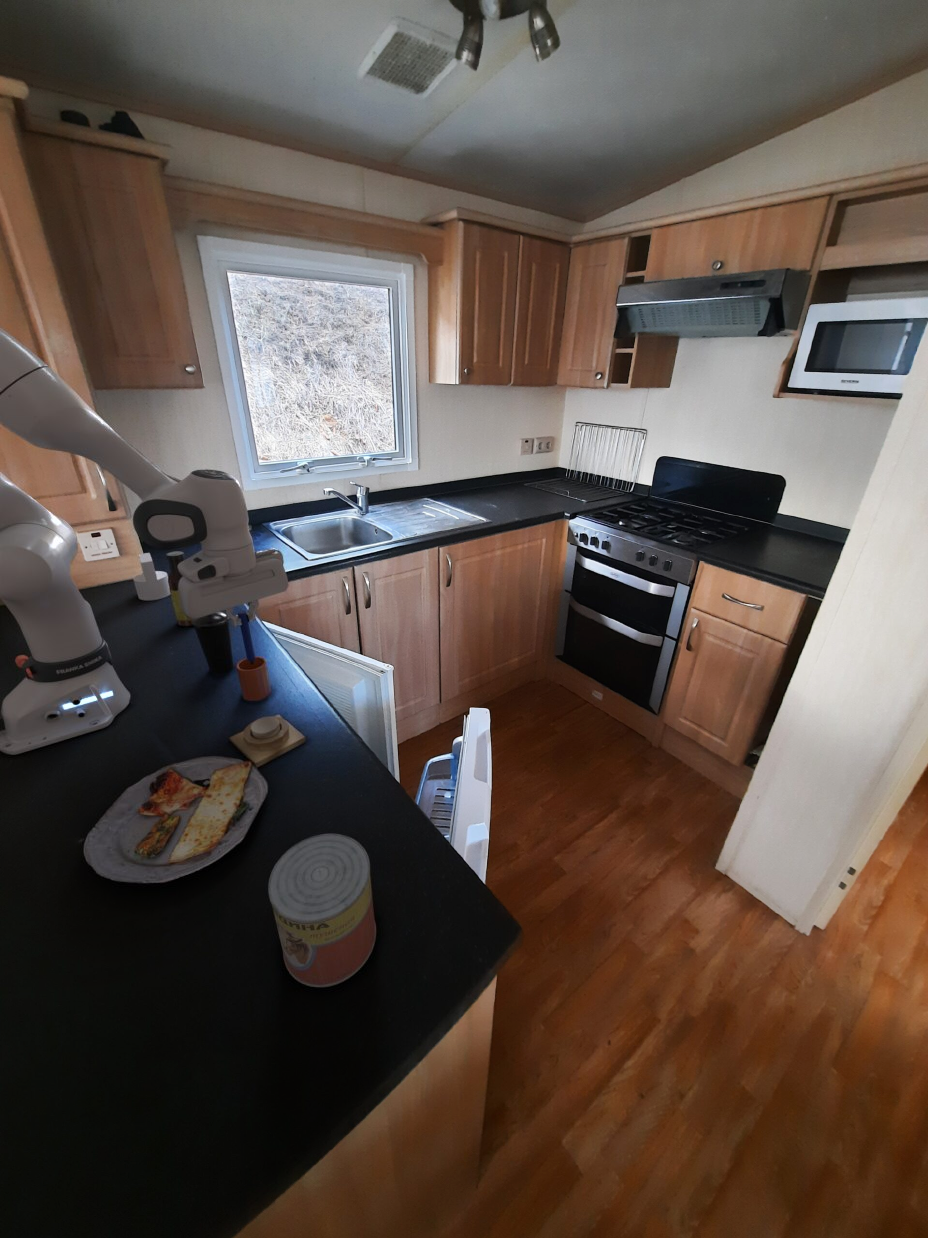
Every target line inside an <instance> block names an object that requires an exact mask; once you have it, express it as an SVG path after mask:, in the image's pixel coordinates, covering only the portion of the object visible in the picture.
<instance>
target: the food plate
mask: <svg viewBox="0 0 928 1238" xmlns="http://www.w3.org/2000/svg"><path fill="white" fill-rule="evenodd" d="M208 779H209V780H208ZM203 780H205V781H204V782H203V784H202V785H199V784H197V783H196V782H195V781H203ZM203 785H204V786H203ZM207 785H209V786H207ZM268 791H269V783H268V781H267V779H266V778H265V777H264V775H263V774H262V773H261V772H260V770H259V769H258V767H257V768H256V767H255V766H254V765H253V763H252V762H251V761H250V760H243V759H240V758H235V757H231V756H230V757H227V756H222V755H208V756H199V757H195V758H194V757H193V758H191V759H186V760H183V761H179V762H175V763H171V764H169V765H168V764H167V765H165V766H163V767H161V768H160V769H157V770H156V771H154V772H153V773H151V774H150V775H146V776H144V777H143V778H141V779H140V780H139V781H138V782H136V783H134V784H133V785H131V786H129V787H128V788H126V789H125V790H124V791H123V792H122V793H121V795H119V796H118V798H117V799H116V800H115V801H114V802H113V803H112V805H111V806H110V807H109V808H108V809H107V810H106V812H105V813H104V814H103V815H102V817H100V818H99V819H98V821H97V823H96V824H95V826H93V827H92V828H91V830H90V831H89V832H88V833H87V836H86V838H85V840H84V843H83V856H84V858H85V862H87V864H88V866H91V868H92V869H93V870H94V871H95V874H98V875H99V876H100V877H104V878H106V879H109V880H111V881H114V882H120V883H121V882H123V883H130V884H132V883H135V884H137V883H138V884H154V883H155V884H159V883H160V884H161V883H168V882H170V881H173V880H176V879H179V878H180V877H186V876H187V875H189V874H193V873H195V872H196V871H197V872H198V871H200V870H202V869H203V868H206V867H208V866H210V865H211V864H213V863H214V862H216V861H218V860H220V859H221V858H222V857H224V856H225V855H226V854H228V853H229V852H231V850H234V848H235V847H236V846H237V845H238V844H240V843H242V841H243V840H244V838H245V836H246V835H247V833H248V831H249V829H250V828H251V825H253V822H254V821H255V819H256V817H257V814H258V813H259V810H260V809H261V807H262V805H263V803H264V801H265V799H266V797H267V795H268Z"/></svg>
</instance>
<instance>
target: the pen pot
mask: <svg viewBox="0 0 928 1238" xmlns="http://www.w3.org/2000/svg"><path fill="white" fill-rule="evenodd" d="M255 658H256V659H255V660H254V664H252V665H251V664H250V661H248V660H247V657H246V658H243V659H241V660H239V661H238V662H237V663H236V670H237V671H236V672H237V675H238V682H239V686H240V691H241V694H242V698H243V699H244V700H246V701H250V702H255V701H256V702H257V701H260V700H263V699H265V698H266V699H267V697H269V696H270V695H271V693H272V686H271V680H270V675H269V671H268V670H269V669H268V664H267V659H265V658H264V657H262V656H255Z"/></svg>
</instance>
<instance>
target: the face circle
mask: <svg viewBox="0 0 928 1238" xmlns="http://www.w3.org/2000/svg"><path fill="white" fill-rule="evenodd" d="M254 721H255V722H254ZM254 721H252V722H253V724H252V725H251V732H252V736H253V737H254V738H255V739H260V740H262V739H268V738H271V737H273V736H275V735H277V734H278V733H279V731H280V723H279V720H278V719H277V718H275V717H271V716H264V717H260V718H257V719H256V720H254Z"/></svg>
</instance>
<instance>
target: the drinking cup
mask: <svg viewBox="0 0 928 1238" xmlns="http://www.w3.org/2000/svg"><path fill="white" fill-rule="evenodd" d="M191 623H192V625H191V626H192V627H193V628H194V631H195V633H196V636H197V638H198V642H199V644H200V646H201V647H200V648H201V649H202V653H203V655H204V658H205V660H206V664H207V666H208V668H209V670H210V673H211V674H212V675H215V676H216V675H224V674H228V673H230V672H231V671H232V670H233V669H234V659H233V650H232V642H231V641H232V640H231V639H232V638H231V632H230V631H231V630H230V618H229V617H228V616H227V615H226V614H225V613H224V612H222V611H220V612H217V613H213V614H210V615H207V616H204V617H200V618H197V619H192V621H191Z"/></svg>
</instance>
